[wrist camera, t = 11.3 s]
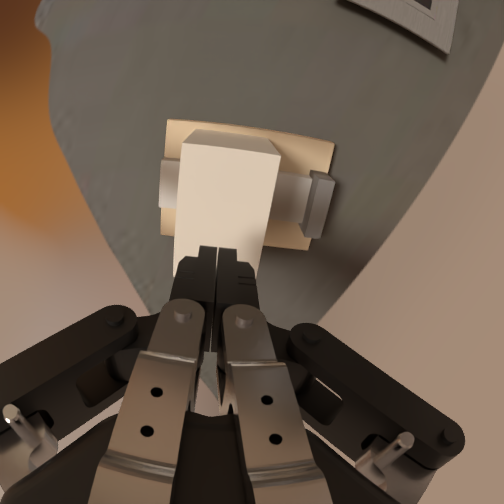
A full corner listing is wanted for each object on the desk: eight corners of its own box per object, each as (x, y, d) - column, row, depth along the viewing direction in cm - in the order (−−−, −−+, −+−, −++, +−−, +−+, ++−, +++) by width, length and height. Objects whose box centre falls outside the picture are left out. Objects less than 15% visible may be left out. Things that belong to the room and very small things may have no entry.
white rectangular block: (248, 240, 24) (254, 287, 19) (185, 232, 23) (173, 278, 18) (267, 137, 20) (280, 155, 15) (196, 128, 19) (182, 142, 14)
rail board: (170, 118, 20) (159, 123, 17) (330, 141, 21) (346, 150, 18) (163, 229, 24) (154, 249, 21) (305, 244, 26) (314, 266, 23)
